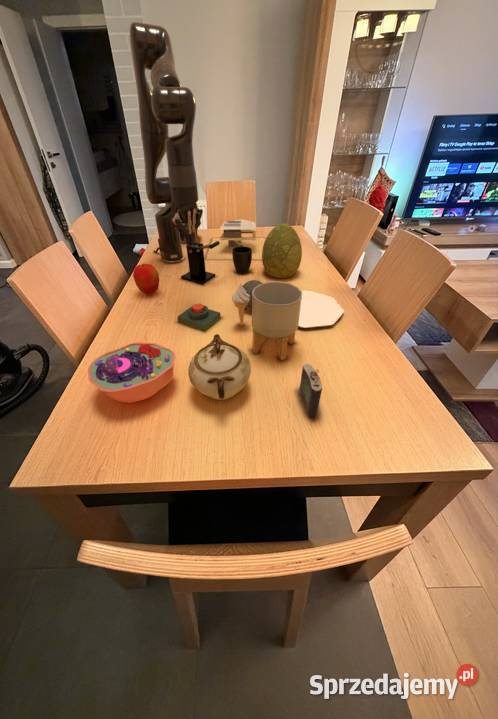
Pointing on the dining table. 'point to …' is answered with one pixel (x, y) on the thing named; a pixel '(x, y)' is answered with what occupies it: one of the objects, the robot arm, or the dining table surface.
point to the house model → (236, 240)
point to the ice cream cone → (241, 301)
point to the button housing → (199, 318)
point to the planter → (275, 314)
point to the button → (198, 308)
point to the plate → (318, 310)
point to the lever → (207, 246)
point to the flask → (310, 390)
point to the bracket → (196, 266)
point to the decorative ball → (250, 290)
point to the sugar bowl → (219, 369)
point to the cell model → (133, 371)
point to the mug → (242, 259)
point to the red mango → (146, 278)
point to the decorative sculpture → (282, 252)
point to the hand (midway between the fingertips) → (190, 244)
